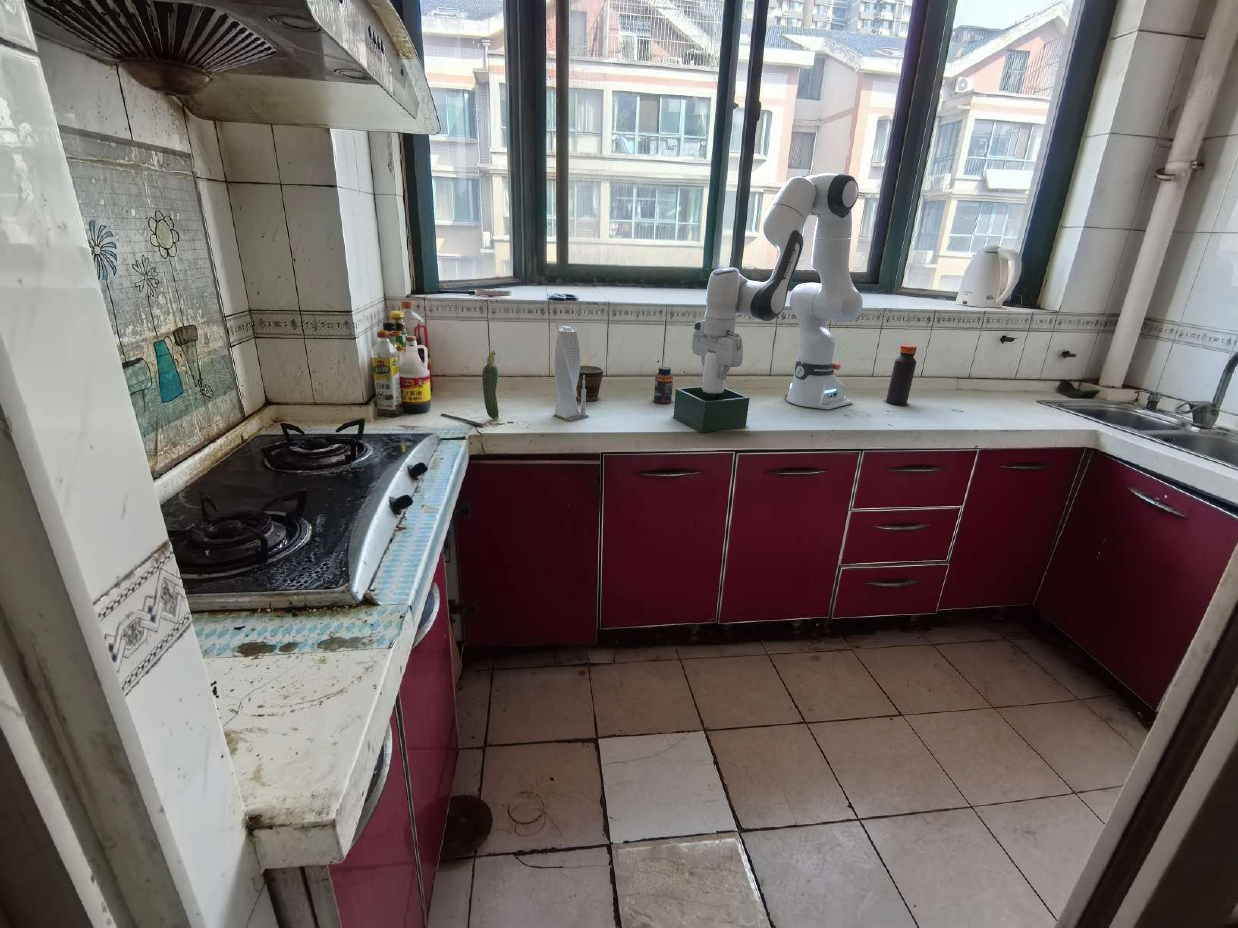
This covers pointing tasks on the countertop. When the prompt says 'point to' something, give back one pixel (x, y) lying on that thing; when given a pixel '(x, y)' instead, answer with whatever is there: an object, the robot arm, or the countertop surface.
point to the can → (712, 375)
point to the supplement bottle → (663, 385)
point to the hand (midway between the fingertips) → (714, 375)
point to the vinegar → (902, 376)
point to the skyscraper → (568, 373)
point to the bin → (710, 409)
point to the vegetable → (490, 387)
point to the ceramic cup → (589, 382)
